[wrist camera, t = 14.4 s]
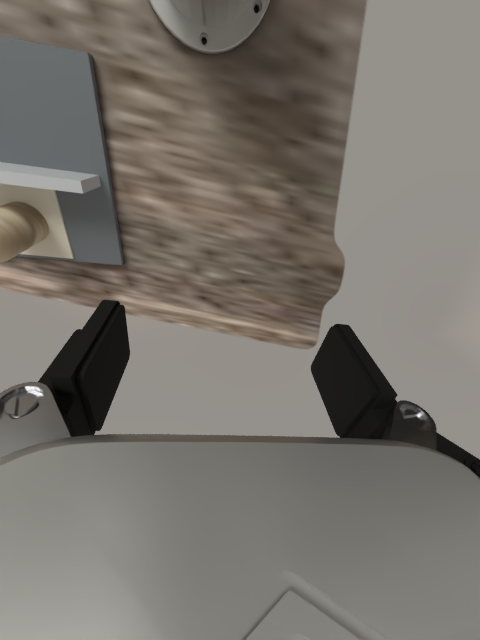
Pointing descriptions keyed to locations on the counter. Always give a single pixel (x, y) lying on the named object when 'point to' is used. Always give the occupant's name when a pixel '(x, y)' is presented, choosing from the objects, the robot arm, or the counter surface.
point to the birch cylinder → (20, 229)
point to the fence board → (57, 151)
